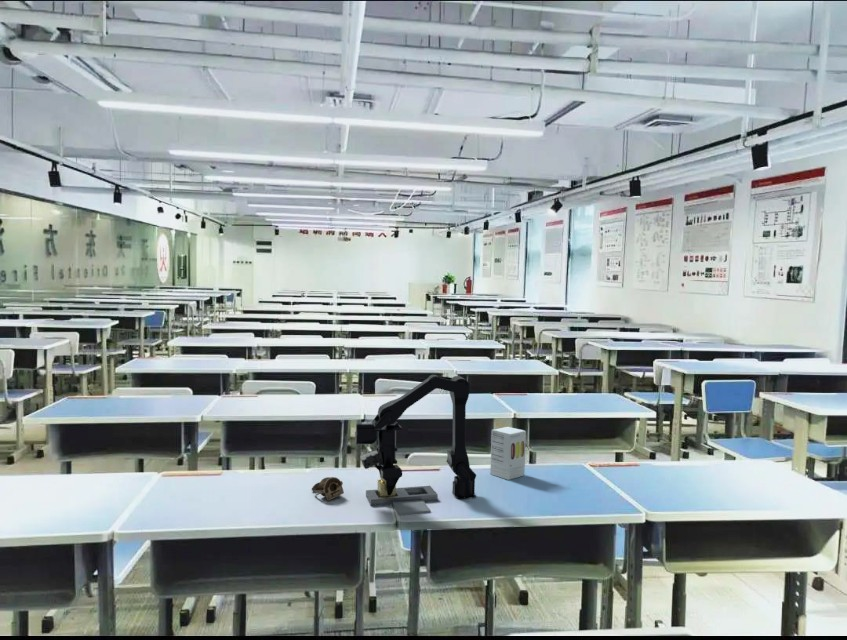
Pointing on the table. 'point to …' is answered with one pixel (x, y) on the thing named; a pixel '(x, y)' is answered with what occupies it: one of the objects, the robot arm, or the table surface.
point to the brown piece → (329, 487)
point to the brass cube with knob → (384, 489)
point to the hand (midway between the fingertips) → (386, 490)
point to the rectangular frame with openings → (403, 495)
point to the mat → (411, 507)
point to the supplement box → (508, 452)
